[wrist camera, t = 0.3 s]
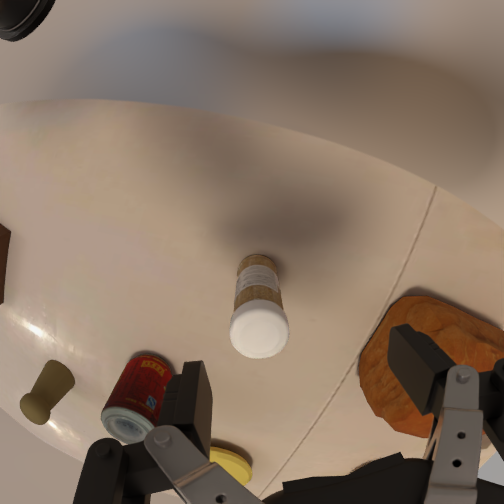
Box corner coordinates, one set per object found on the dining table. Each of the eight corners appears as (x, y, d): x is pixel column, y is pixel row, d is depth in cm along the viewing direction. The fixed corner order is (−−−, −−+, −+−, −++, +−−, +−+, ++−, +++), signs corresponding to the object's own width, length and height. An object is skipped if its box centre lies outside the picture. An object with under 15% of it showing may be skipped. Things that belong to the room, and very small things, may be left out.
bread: (455, 398, 43) (492, 455, 28) (344, 375, 40) (375, 462, 25) (504, 326, 39) (557, 374, 23) (404, 277, 36) (474, 344, 20)
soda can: (172, 393, 41) (152, 456, 29) (127, 377, 40) (98, 436, 29) (180, 359, 39) (159, 425, 27) (131, 342, 38) (97, 402, 27)
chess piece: (56, 387, 42) (29, 428, 32) (40, 360, 40) (7, 399, 30) (80, 388, 42) (53, 432, 31) (63, 359, 40) (31, 402, 29)
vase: (223, 427, 43) (220, 461, 37) (267, 470, 47) (268, 499, 41) (149, 444, 46) (141, 473, 39) (198, 483, 50) (194, 510, 43)
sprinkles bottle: (268, 295, 36) (275, 367, 23) (231, 282, 36) (220, 351, 23) (283, 261, 35) (300, 321, 22) (245, 247, 34) (241, 302, 22)
